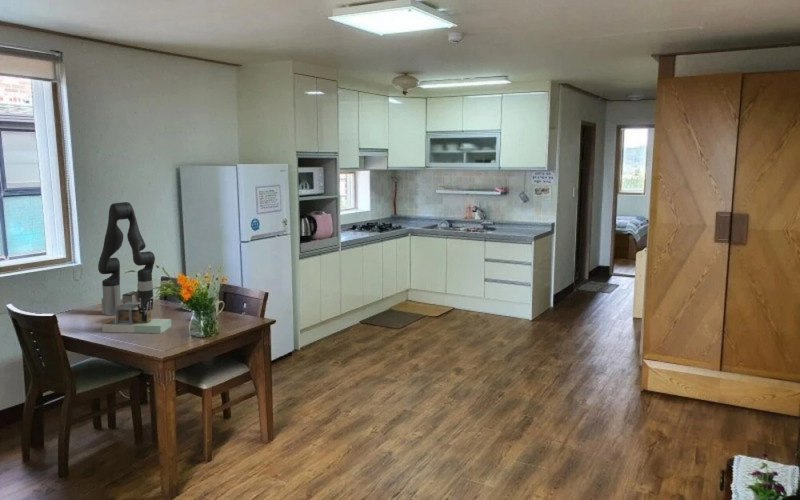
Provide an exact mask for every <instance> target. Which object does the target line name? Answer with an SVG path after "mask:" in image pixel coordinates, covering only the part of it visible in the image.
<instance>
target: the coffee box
mask: <svg viewBox="0 0 800 500" xmlns="http://www.w3.org/2000/svg"><path fill="white" fill-rule="evenodd" d="M121 296H122V304H124V303H126V302H135V303H141V299H140V298H138V291H130V292H126V293H123V294H122V295H121ZM132 310H138V306H137V307H135V308H133V309H132Z"/></svg>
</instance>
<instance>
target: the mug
mask: <svg viewBox="0 0 800 500" xmlns="http://www.w3.org/2000/svg"><path fill="white" fill-rule="evenodd" d="M215 298H216V297H215ZM220 303H222V307H221V309H220V310H219V305H220ZM215 305H216V316H217V317H218V315H219V314H220V313H221V312H223V309H224V308H225V302H224V301H222V300H220V299H219V298H216V303H215Z"/></svg>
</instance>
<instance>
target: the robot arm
mask: <svg viewBox="0 0 800 500" xmlns="http://www.w3.org/2000/svg"><path fill="white" fill-rule="evenodd" d="M120 220H121V221H123V220H128V222H129V227H128V231H127V236H126V238H127V241H128V243H129V245H130V248H131V251H132V252H131V253H132V261H133V263H134V264H135V266H138V267H140V266H144V267H142V268H141V269H139V270H138V271H137V292H138V298H140V299H141V303H140V304H138V309H139V314H142V321H147V317H146V312H147V310H151V311H152V310H154V309H153V305H154V298H153V297H154V287H153V286H154V285H153V269H154V265H155V263H156V256H155V254H154V252H152V251H143V250H145V248H146V246H147V245H146V243H145V241H144V238H143V236H142V234H141V231H140V228H139V225H138V221H137V218H136V214H135V210H134V208H133V206H132V204H131V203H130V202H127V201H123V202H114V203H112V204H110V207H109V209H108V219H107V228H106V232H105V235H104V240H103V247H102V251H101V255H100V256H99V261H98V264H97V268H98V272H99V274H101V275H110V274H111V275H110V276H108V277H107V278H105V279H103V280H102V281H101V282H102V283H101V284H102V288H101V289H102V298H101V314H102V315H104V316H116V312H115V308H116V307H118V306H120V305H122V303H121V273H120V272H121V263H120V260H119V258H118V257H112V256H113V255H114V254H116V253H117V252H118V251H119V249H121V247H122V245H123V242H124V233H123V231H122V230H121V228H120V227H119V226H118V221H120ZM144 310H145V311H144ZM118 311H119V310H118Z"/></svg>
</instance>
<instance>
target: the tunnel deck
mask: <svg viewBox="0 0 800 500" xmlns="http://www.w3.org/2000/svg"><path fill="white" fill-rule="evenodd" d="M138 304H140V303H135V302H126V303H124V304H123V303H121V305H120V306H118V307H116V308H115V312H116V315H115V317H113V318H110V319H109V320H107V321H105V322H103V323H102V324H101V330H102V331H101V332H102V333H126V332H127V333H130V334H131V333H132V334H133V333H135V334H162V333H163V332H165V331H167V330H168V329H170V328H171V327H172V319H171V318H151V321H150V322H149V323H134V321H133V320H132V312H131V310H132V309H133V308H135V307H137V306H138ZM118 310H129V320H119V315H118ZM138 310H139V309H138Z"/></svg>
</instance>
